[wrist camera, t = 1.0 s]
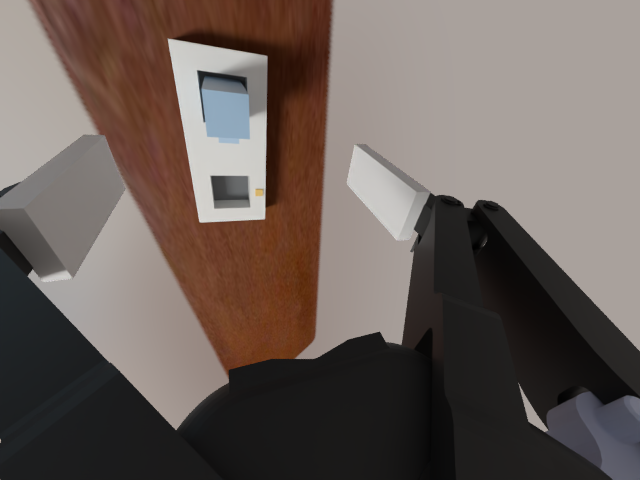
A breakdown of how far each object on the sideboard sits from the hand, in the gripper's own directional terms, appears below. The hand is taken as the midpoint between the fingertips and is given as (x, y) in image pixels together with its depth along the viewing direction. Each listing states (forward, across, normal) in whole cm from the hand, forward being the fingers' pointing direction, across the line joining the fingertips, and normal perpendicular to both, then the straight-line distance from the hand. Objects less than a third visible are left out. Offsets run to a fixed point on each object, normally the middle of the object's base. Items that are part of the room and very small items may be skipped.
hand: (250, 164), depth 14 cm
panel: (+20, -1, -5) cm, 21 cm away
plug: (+20, -1, 0) cm, 20 cm away
